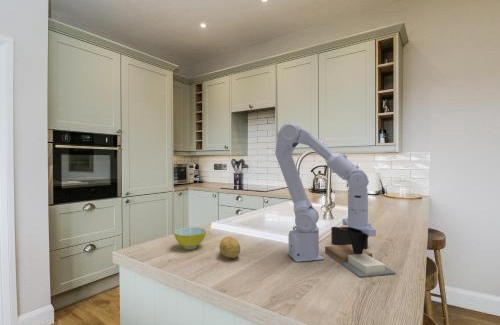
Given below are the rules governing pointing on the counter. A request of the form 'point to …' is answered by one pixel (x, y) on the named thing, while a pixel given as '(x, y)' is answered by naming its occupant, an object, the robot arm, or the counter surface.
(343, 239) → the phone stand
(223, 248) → the potato
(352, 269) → the mat
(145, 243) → the counter surface
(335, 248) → the brown block
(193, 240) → the bowl
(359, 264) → the cream rectangular tile
